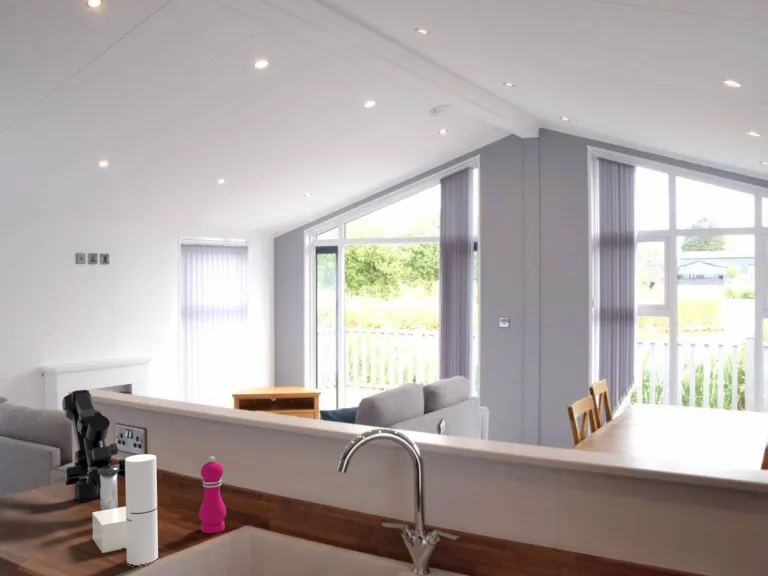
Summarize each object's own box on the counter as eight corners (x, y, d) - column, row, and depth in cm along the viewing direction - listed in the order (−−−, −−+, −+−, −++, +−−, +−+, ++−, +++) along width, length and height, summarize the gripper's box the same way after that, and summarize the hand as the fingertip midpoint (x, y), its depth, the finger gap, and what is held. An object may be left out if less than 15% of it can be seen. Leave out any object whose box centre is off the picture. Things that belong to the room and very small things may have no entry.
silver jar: (96, 523, 197) (95, 467, 197) (117, 519, 200) (116, 464, 200) (108, 539, 185) (107, 479, 184) (130, 534, 188) (129, 475, 188)
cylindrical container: (148, 567, 166) (146, 462, 166) (120, 565, 168) (119, 461, 168) (163, 555, 173) (161, 454, 173) (137, 554, 175) (135, 453, 175)
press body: (92, 538, 186) (92, 512, 186) (139, 529, 192) (139, 504, 192) (102, 553, 176) (102, 525, 176) (151, 542, 182) (150, 515, 182)
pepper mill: (222, 534, 188) (221, 459, 188) (195, 534, 188) (194, 459, 188) (229, 524, 195) (228, 453, 195) (203, 525, 195) (202, 453, 195)
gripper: (65, 439, 200) (72, 487, 191) (132, 430, 210) (143, 475, 201) (61, 461, 207) (68, 508, 197) (127, 452, 217) (136, 496, 208)
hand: (104, 496), depth 201 cm, fingers closed
